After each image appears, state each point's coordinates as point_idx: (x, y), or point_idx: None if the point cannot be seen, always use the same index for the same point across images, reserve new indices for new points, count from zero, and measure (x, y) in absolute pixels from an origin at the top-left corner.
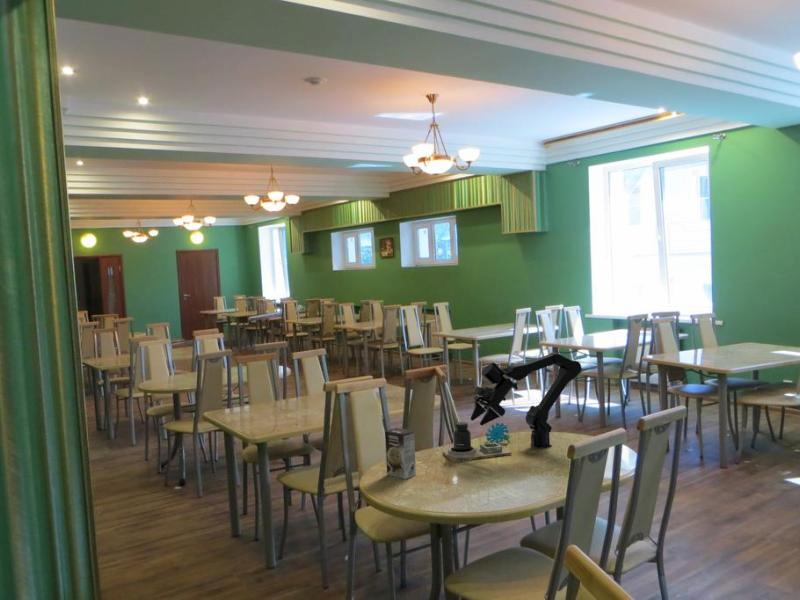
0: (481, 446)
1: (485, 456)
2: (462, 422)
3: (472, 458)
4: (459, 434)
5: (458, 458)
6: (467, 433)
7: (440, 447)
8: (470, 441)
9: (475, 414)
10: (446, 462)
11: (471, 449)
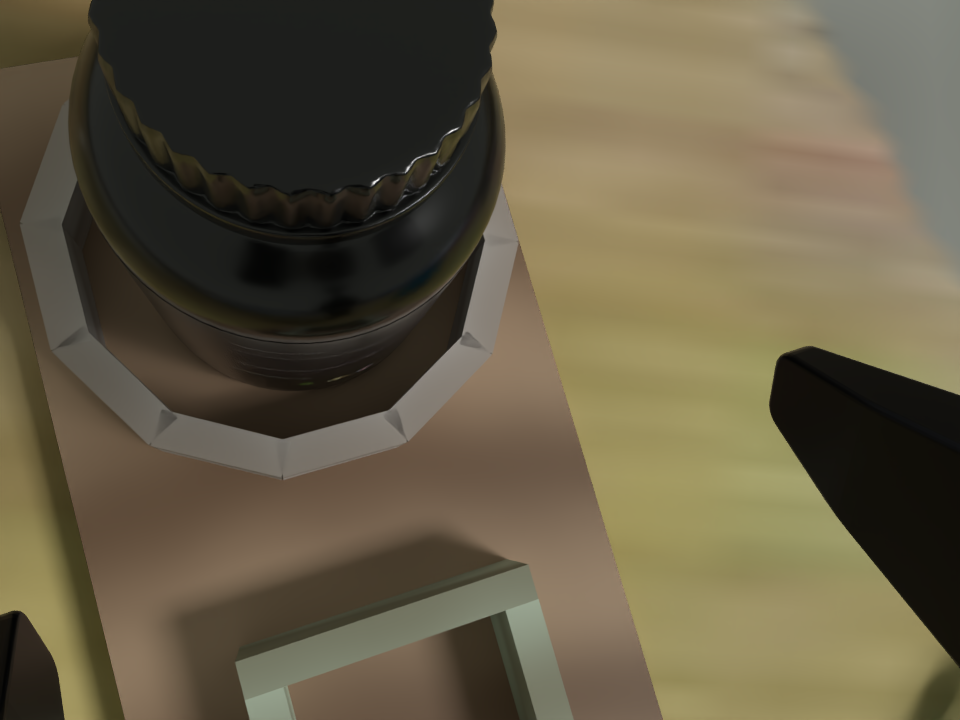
0: (457, 584)
1: (101, 618)
2: (425, 53)
3: (49, 394)
4: (86, 37)
5: (26, 166)
6: (115, 237)
7: (782, 38)
8: (227, 354)
9: (954, 527)
10: (10, 4)
11: (392, 406)
